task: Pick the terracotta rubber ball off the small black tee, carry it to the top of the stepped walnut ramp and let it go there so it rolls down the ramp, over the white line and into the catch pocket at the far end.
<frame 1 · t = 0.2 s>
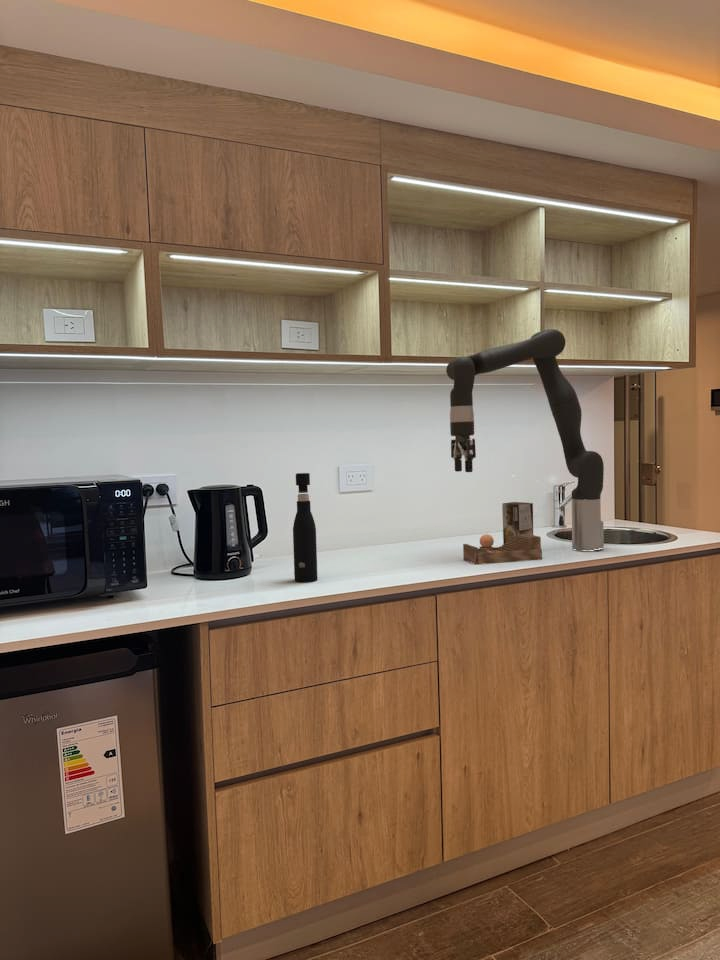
hand: (463, 471, 216), 28 cm above the table, tool pointing down, fingers open, 8 cm apart
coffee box: (518, 550, 232), on the table
black bottle: (306, 581, 189), on the table
ball: (486, 548, 224), point 2 cm above the table, touching tee
lane: (501, 559, 213), on the table
tee: (486, 554, 224), on the table
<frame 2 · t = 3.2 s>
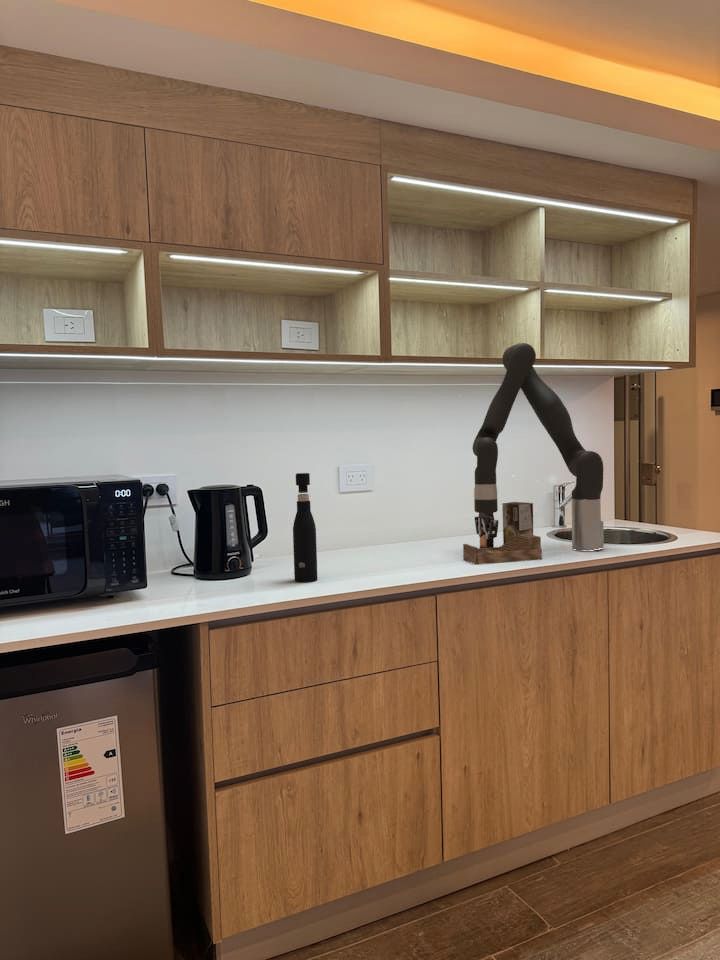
hand: (486, 548, 224), 2 cm above the table, tool pointing down, fingers closed on ball, 4 cm apart
ball: (486, 548, 224), point 2 cm above the table, touching gripper, tee
everything else where it was.
when the fingers open (8 cm above the table, at t = 6.8 s): ball drops 7 cm and tips over, resting in lane.
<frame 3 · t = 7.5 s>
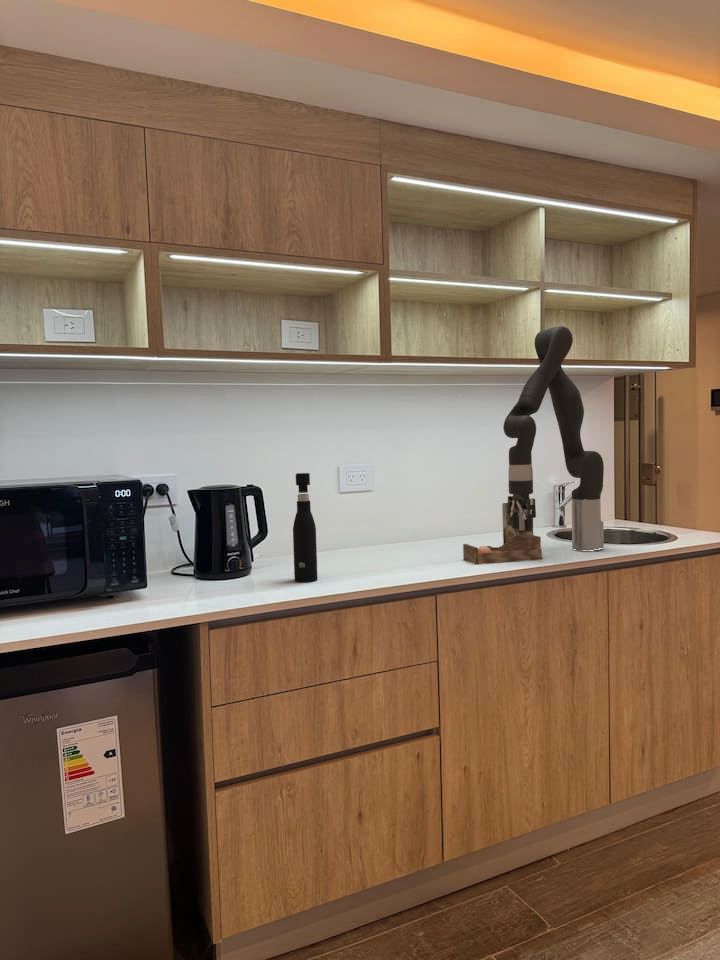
hand: (521, 529, 215), 9 cm above the table, tool pointing down, fingers open, 8 cm apart
ball: (480, 560, 212), resting in lane, tilted 31°
everything else where it was.
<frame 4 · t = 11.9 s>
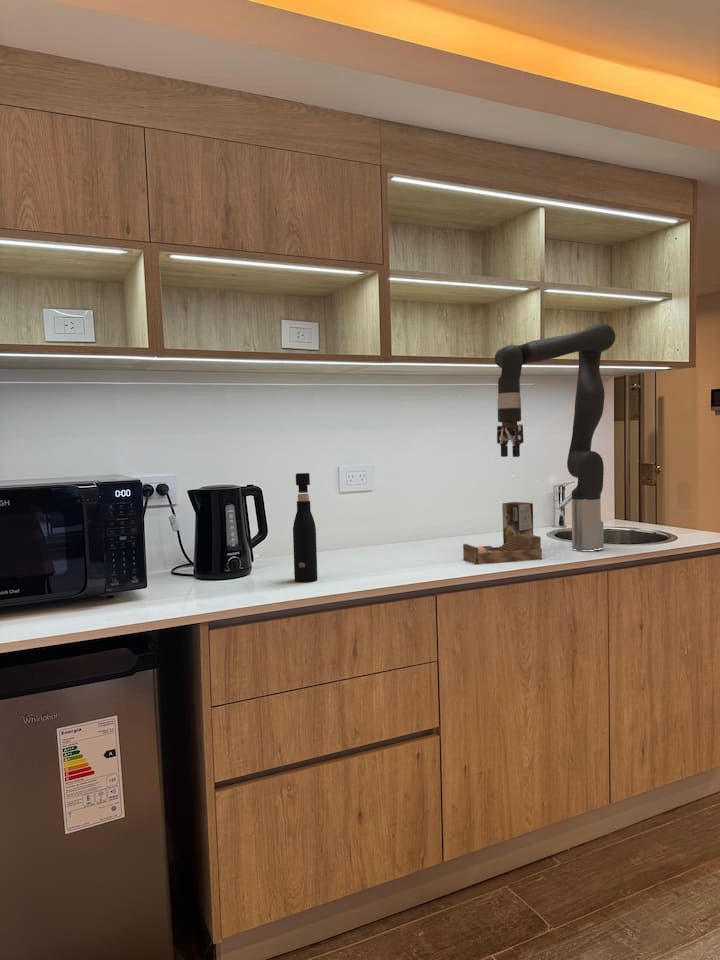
hand: (510, 456, 222), 32 cm above the table, tool pointing down, fingers open, 8 cm apart
ball: (480, 561, 212), resting in lane, tilted 6°
everything else where it was.
at the end: ball inside the target area on the lane (0.3 cm from its centre), point 0.0 cm above the lane's base; the gripper is holding nothing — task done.
